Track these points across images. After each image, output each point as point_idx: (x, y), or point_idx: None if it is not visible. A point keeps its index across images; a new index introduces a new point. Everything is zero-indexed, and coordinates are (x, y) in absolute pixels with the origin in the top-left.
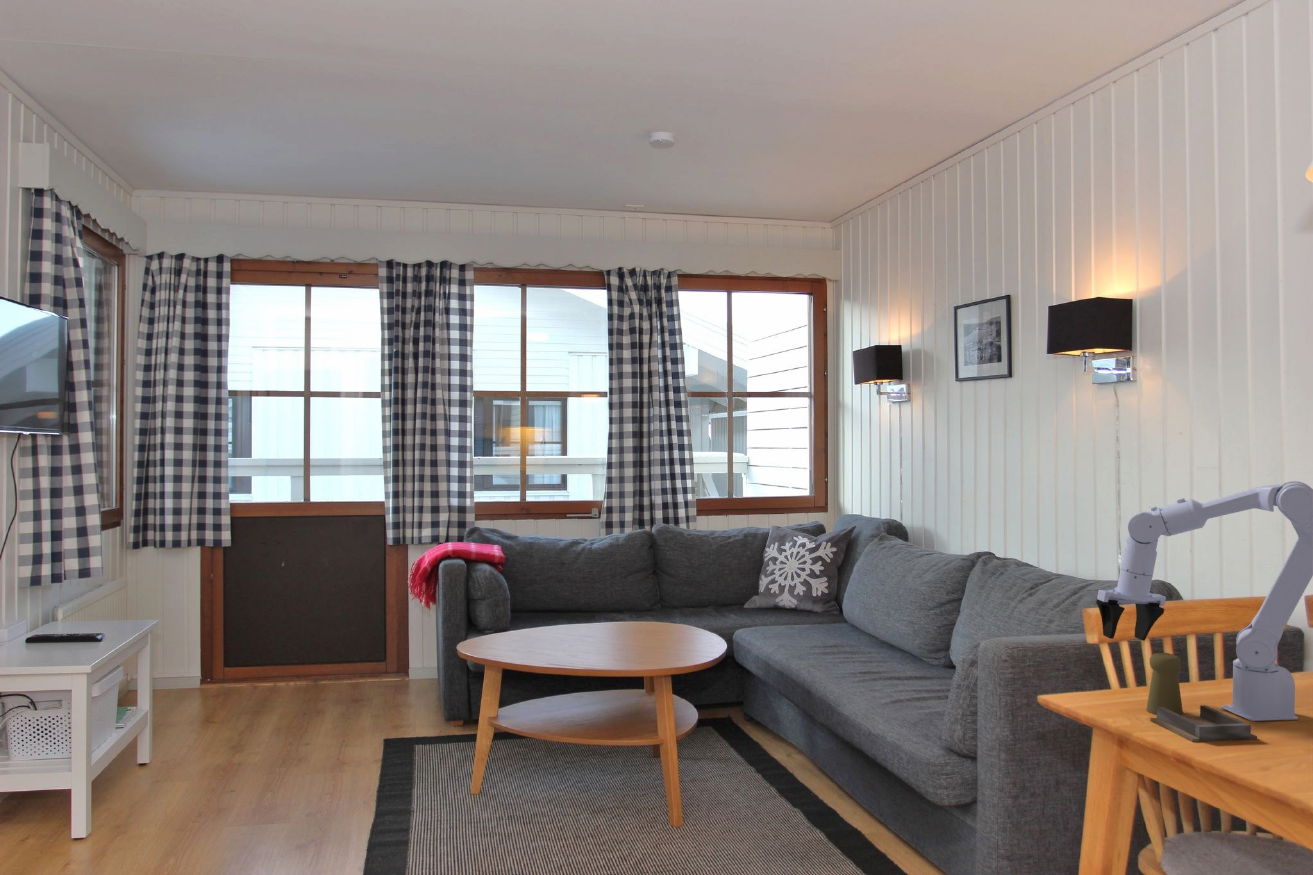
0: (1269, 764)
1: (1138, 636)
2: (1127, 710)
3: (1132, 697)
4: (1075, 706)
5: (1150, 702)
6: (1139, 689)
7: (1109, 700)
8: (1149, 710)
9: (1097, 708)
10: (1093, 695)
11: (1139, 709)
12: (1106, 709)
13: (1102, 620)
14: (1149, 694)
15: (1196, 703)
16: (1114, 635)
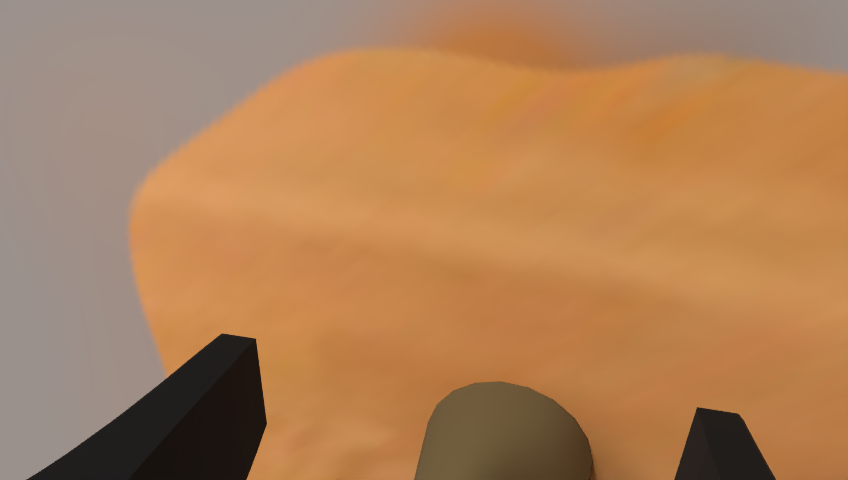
0: None
1: (685, 470)
2: (350, 357)
3: (573, 228)
4: (147, 210)
5: (421, 454)
6: (811, 120)
7: (388, 212)
8: (428, 425)
9: (231, 276)
10: (370, 103)
11: (420, 374)
12: (262, 304)
13: (88, 450)
14: (423, 467)
15: (842, 459)
16: (251, 464)
